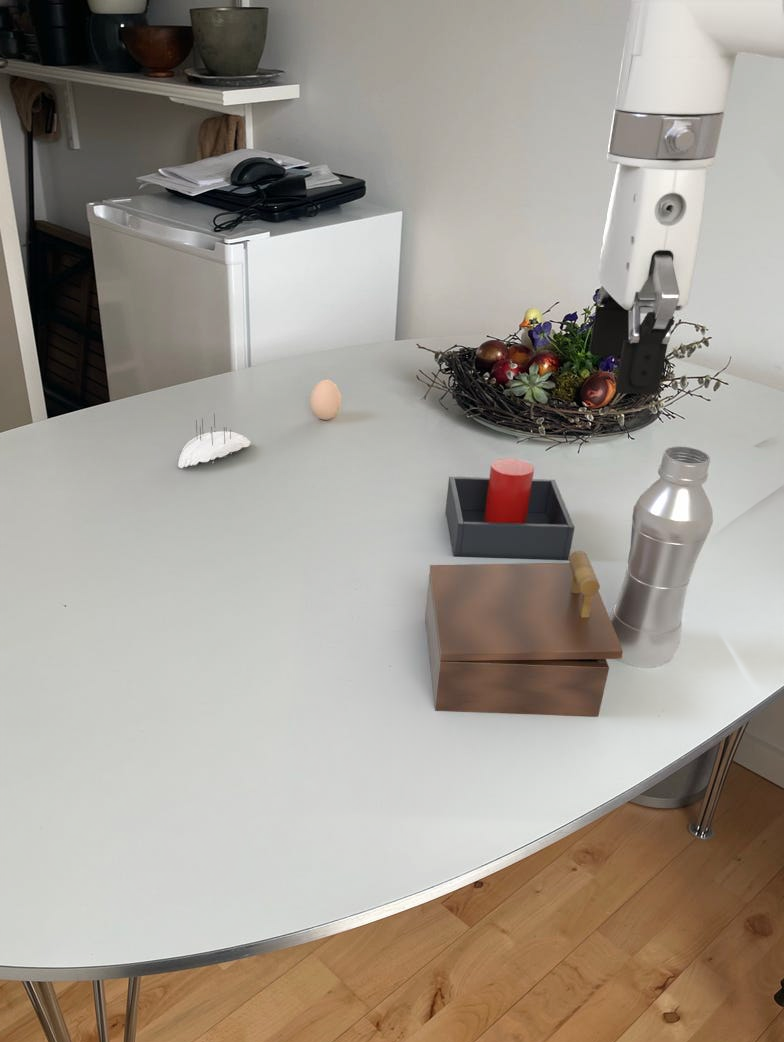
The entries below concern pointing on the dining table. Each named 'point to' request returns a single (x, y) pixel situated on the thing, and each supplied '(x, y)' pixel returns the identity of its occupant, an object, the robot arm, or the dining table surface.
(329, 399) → the egg
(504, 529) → the bin
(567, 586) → the lid
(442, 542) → the dining table surface
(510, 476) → the red cylinder
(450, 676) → the chest
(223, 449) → the pincushion
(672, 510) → the silver metal bottle
